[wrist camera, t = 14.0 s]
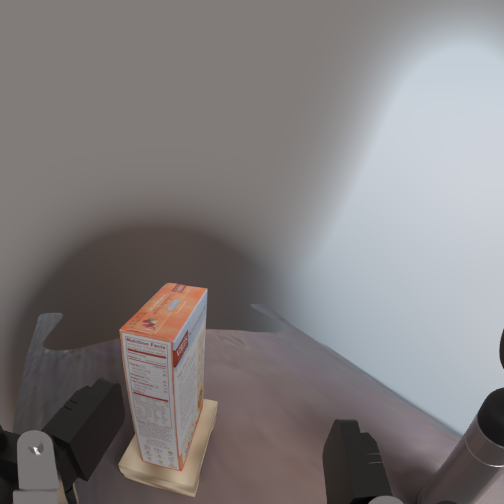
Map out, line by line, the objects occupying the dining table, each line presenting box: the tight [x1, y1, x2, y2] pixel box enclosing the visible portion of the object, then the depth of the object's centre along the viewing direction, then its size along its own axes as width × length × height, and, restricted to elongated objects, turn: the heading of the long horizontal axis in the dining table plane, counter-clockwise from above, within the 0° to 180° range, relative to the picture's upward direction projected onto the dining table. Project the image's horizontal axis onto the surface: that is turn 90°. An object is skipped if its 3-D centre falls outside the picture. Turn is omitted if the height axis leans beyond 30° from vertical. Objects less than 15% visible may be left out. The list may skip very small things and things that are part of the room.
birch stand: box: [118, 399, 218, 497], centre depth 37 cm, size 10×18×4 cm, turn 175°
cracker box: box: [119, 283, 207, 471], centre depth 34 cm, size 14×6×21 cm, turn 175°
